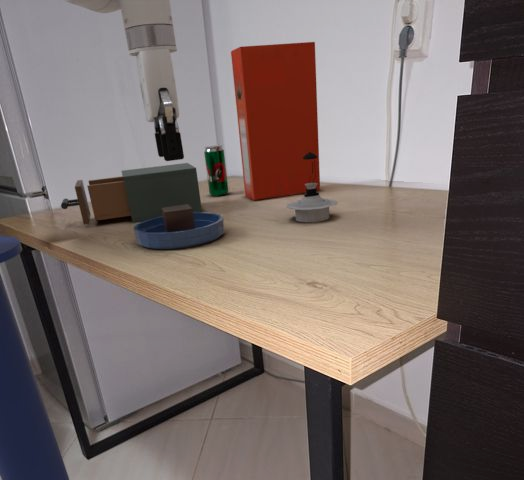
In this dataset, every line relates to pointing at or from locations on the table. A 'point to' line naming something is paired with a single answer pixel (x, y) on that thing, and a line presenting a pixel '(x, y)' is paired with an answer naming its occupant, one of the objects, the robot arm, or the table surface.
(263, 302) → the table surface
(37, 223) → the table surface
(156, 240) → the bowl
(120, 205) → the drawer
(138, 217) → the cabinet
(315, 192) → the oil lamp
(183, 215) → the block
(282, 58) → the file binder
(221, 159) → the soda can
